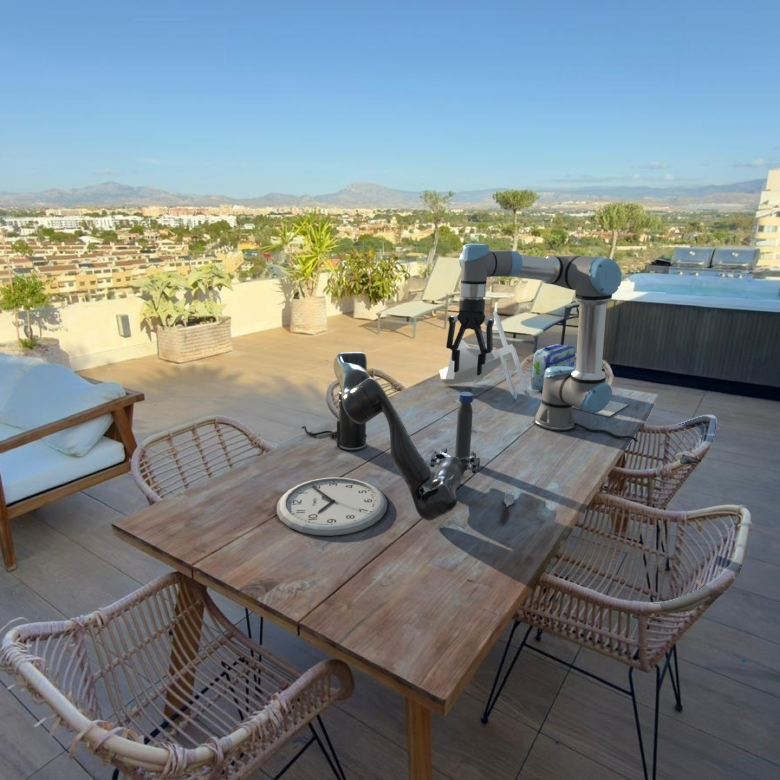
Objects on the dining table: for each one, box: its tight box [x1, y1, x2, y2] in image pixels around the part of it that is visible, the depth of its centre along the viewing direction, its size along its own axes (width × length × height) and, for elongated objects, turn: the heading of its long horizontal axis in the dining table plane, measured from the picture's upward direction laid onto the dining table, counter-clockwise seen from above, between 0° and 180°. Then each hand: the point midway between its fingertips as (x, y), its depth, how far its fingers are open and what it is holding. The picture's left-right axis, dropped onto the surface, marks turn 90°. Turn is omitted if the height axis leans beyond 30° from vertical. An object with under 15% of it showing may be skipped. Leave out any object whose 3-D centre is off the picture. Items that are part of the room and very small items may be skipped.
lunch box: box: [530, 343, 576, 392], centre depth 248 cm, size 26×11×21 cm, turn 134°
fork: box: [501, 490, 516, 524], centre depth 141 cm, size 3×16×2 cm, turn 160°
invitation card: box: [573, 400, 629, 418], centre depth 226 cm, size 21×1×15 cm
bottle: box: [454, 402, 474, 461], centre depth 167 cm, size 5×5×23 cm
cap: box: [458, 391, 474, 404], centre depth 164 cm, size 4×4×2 cm
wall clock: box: [276, 476, 388, 537], centre depth 142 cm, size 30×2×30 cm
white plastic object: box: [438, 310, 531, 400], centre depth 245 cm, size 37×45×31 cm
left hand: (459, 452), depth 163 cm, fingers open, 8 cm apart
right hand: (467, 372), depth 162 cm, fingers open, 7 cm apart
